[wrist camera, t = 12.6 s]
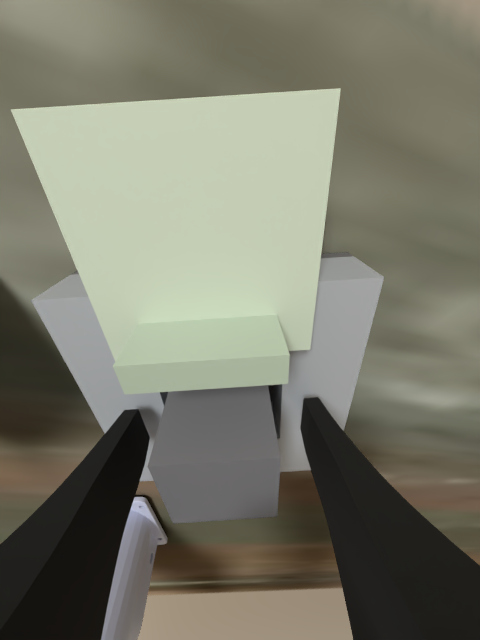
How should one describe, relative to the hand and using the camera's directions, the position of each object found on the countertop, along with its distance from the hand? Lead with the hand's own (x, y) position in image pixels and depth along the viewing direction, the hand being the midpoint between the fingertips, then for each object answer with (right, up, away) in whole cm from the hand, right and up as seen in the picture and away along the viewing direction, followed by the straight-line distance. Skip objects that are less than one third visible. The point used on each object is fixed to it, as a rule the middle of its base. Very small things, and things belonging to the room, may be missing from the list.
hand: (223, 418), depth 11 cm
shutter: (0, +6, -3) cm, 7 cm away
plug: (0, +1, +3) cm, 3 cm away
